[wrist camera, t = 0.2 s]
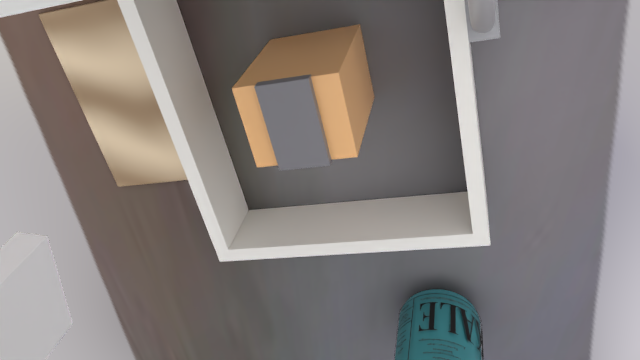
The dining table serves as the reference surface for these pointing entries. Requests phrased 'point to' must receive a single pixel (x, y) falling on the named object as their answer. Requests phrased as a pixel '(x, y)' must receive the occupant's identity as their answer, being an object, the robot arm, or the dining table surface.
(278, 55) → the tan and grey block
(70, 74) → the metal plate
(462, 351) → the beverage bottle
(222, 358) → the dining table surface
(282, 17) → the dining table surface
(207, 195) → the equipment case
